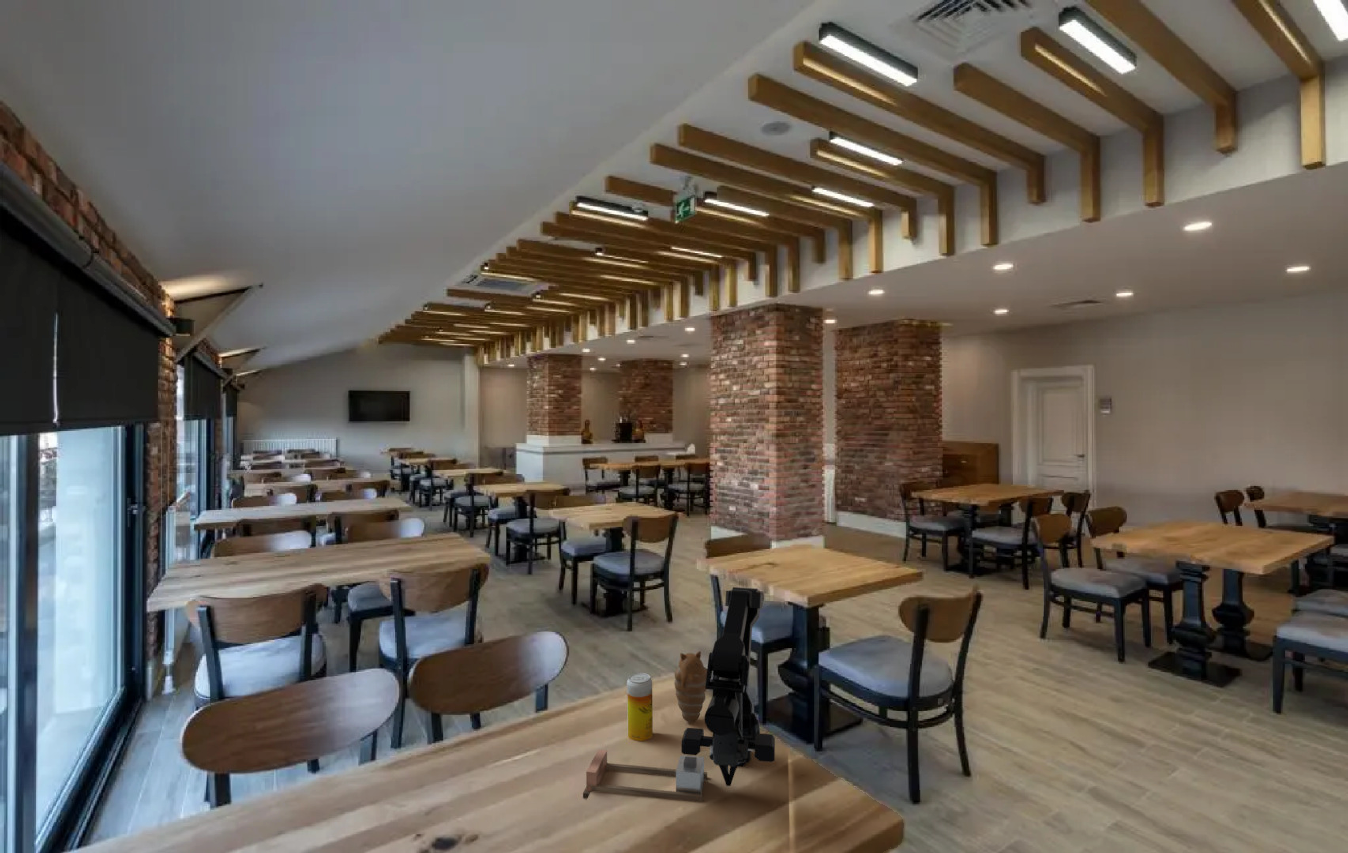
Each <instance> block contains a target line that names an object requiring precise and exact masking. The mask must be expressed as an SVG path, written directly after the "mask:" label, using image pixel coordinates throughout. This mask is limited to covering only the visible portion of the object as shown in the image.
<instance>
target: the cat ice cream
mask: <svg viewBox="0 0 1348 853" xmlns="http://www.w3.org/2000/svg"><path fill="white" fill-rule="evenodd" d="M701 655H702V652H701V650H699V651H697V652H696V653H693V652H688V653H682V652H680V656H679V657H680V659H679V662H678V667H677V668H676V669H675V672H674V689H675V697H676V699H677V705H678V707H679V709H680V711H681V716H682V719H683V720H684V721H686V723H687V722H688V723H693V722H696V721H697V720H698V719H699V718H700V716H701V712H702V709H703V706H704V702H705V700H706V692H707V690H708V689H705V686H706V677H707V668H706V667H705V666H704V663H703V662H702V660H701Z"/></svg>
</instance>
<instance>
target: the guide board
mask: <svg viewBox="0 0 1348 853" xmlns="http://www.w3.org/2000/svg"><path fill="white" fill-rule="evenodd" d="M676 769H677V768H676ZM676 769H675V768H664V767H652V766H644V765H630V764H622V763H611V762H610V763H609V762H608V750H606V749H604V750H603V749H597V751H596V753H595V755H594V756H593V758H592V761H591V762H590V764H589V766H588V768H587V770H586V775H585V776H586V780H585V781H586V782H585V783H586V785H585V789H584V790H583V793H582V798H583V799H588V798H589V796H590V794H591V792H596V793H597V792H598V793H608V794H617V795H626V796H628V795H629V796H639V797H648V798H659V799H668V800H677V801H687V802H699V803H703V800H704V798H703V796H704V794H703V793H701V794H695V793H685V792H676V791H674V790H673V791H672V790H663V789H652V788H643V787H642V788H641V787H634V786H632V787H631V786H622V785H614V784H613V785H611V784H601V781H602V780H603V779H604V776H605V773H606V772H607V771H613V772H623V773H633V774H644V775H654V776H663V777H664V776H665V777H675V778H676ZM707 779H708V772H707V771H706V772H705V771H704V780H707Z"/></svg>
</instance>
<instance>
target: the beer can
mask: <svg viewBox="0 0 1348 853" xmlns="http://www.w3.org/2000/svg"><path fill="white" fill-rule="evenodd" d="M626 710H627V711H626V716H627V718H626V720H627V722H626V723H627V725H626V726H627V727H626V729H627V730H626V731H627V732H626V733H627V738H628V739H630V740H632V741H635V742H636V741H637V742H643V741H647V740H650V739H651V738H652V737H653V734H654V733H653V731H654V730H653V728H654V724H653V723H654V722H653V720H654V719H653V715H654V714H653V679H652V677H651V675H649V674H648V673H644V672H635V673H631V674H630V675H629V676H628V679H627V681H626Z"/></svg>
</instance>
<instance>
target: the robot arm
mask: <svg viewBox="0 0 1348 853" xmlns="http://www.w3.org/2000/svg"><path fill="white" fill-rule="evenodd" d="M763 595H764V594H763V593H762V592H759V588H753V587H737V586H735V587H733V586H732V589H731V590H730V589H729V590H725V602H724V603H725V604H724V606H725V607H727V612H726V616H725V621H724V626H723V630H722V635H721V636H720V637H719V638H718V639H716V640H715V641H714V644H713V646H712V650H711V652H709V654H708V660H707V661H708V662H707V668H706V669H707V677H706V686H705V689H707V690H712V696H711V699H710V702H709V704H708V706H707V708H706V711H705V713H704V718H703V719H704V724H705V726H706V728H707V729H708V730H709V732H711V733H712V736H707V735H705V731H704V728H697V727H696V728H695V727H686V728H685V730H684V731H683V735H682V738H681V743H680V744H681V747H680V748H681V749H680V750H681V754H682V755H687V756H697V755H699V753H700V752H701V747H703V748H704V747H706V748H709V751H710V753H709V759H710V760H711V761H713V764H714V765H715V766H718V767H719V769H720V772H721V775H722V778H723V780H724V782H725V785H726V786H727V787H731V786H732V784H733V783H732V782H733V779H734V777H735V773H736V771H737V768H739V767H742V768H743V767H744V766H746V764H747V763H749V762H750V761H751V759H752V752H754V757H755V759H756V760H757V761H758V762H765V763H766V762H769V763H772V762H774V761H776V760H775V758H776V757H775V756H776V738H775V736H774V735H773V734H768V733H761V731H760V730H761V727H760V726H761V725H760V721H759V720H758V716H757V713H756V712H755V705H754V704H753V701H752V698H751V696H750V694H749V686H750V685H749V684H750V683H749V682H750V669H751V668H750V667H751V665H750V664H751V651H752V634H753V627H754V625H756V623H757V621H758V620H759V619H760V614H761V610H762V609H763V607H764V606H763V605H764V596H763ZM712 675H713V676H712ZM712 677H714V678H719V679H714V678H712Z"/></svg>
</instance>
